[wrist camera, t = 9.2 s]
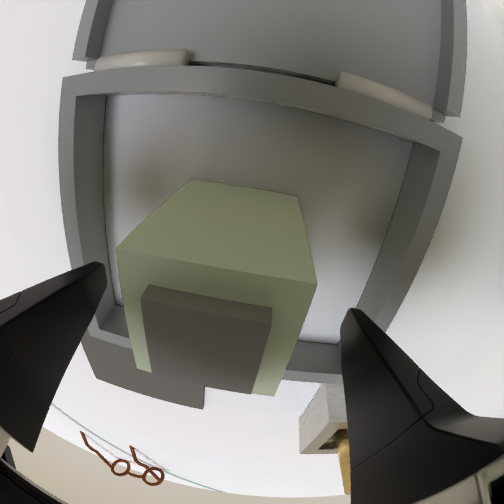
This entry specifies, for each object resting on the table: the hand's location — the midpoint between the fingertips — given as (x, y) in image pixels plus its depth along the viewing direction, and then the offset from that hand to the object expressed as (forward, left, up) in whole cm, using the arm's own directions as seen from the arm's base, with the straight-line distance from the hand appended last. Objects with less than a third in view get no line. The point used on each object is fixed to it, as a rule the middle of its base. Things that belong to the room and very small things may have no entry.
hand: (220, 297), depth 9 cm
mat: (+7, +14, -5) cm, 16 cm away
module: (0, 0, -5) cm, 5 cm away
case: (0, -8, -5) cm, 9 cm away
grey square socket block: (-11, +14, -5) cm, 19 cm away
